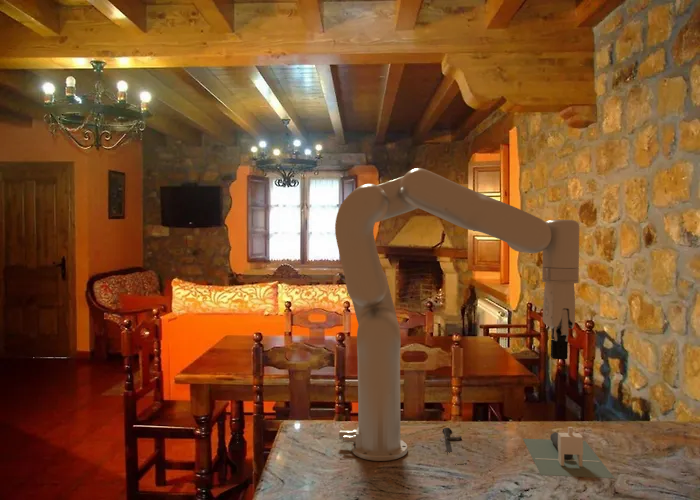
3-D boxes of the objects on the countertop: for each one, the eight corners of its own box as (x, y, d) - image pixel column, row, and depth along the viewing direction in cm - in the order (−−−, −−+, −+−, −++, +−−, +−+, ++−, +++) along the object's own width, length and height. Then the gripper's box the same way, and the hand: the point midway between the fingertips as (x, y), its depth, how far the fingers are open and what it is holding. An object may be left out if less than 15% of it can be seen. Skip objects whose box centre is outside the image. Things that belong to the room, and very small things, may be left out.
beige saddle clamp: (560, 465, 115) (560, 428, 115) (557, 460, 117) (557, 424, 117) (582, 466, 115) (583, 429, 114) (579, 461, 117) (579, 425, 117)
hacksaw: (442, 432, 140) (442, 426, 140) (484, 433, 139) (484, 427, 139) (449, 473, 116) (449, 465, 116) (500, 474, 115) (500, 467, 115)
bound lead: (560, 460, 119) (560, 448, 119) (550, 442, 129) (550, 432, 129) (573, 460, 118) (573, 449, 118) (561, 443, 128) (561, 432, 128)
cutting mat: (540, 478, 111) (540, 474, 111) (522, 441, 131) (522, 438, 131) (614, 482, 110) (614, 477, 110) (585, 444, 130) (585, 440, 130)
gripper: (535, 273, 131) (534, 351, 132) (550, 278, 117) (549, 365, 117) (569, 273, 130) (567, 352, 131) (588, 278, 116) (586, 366, 116)
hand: (559, 358), depth 124 cm, fingers closed
